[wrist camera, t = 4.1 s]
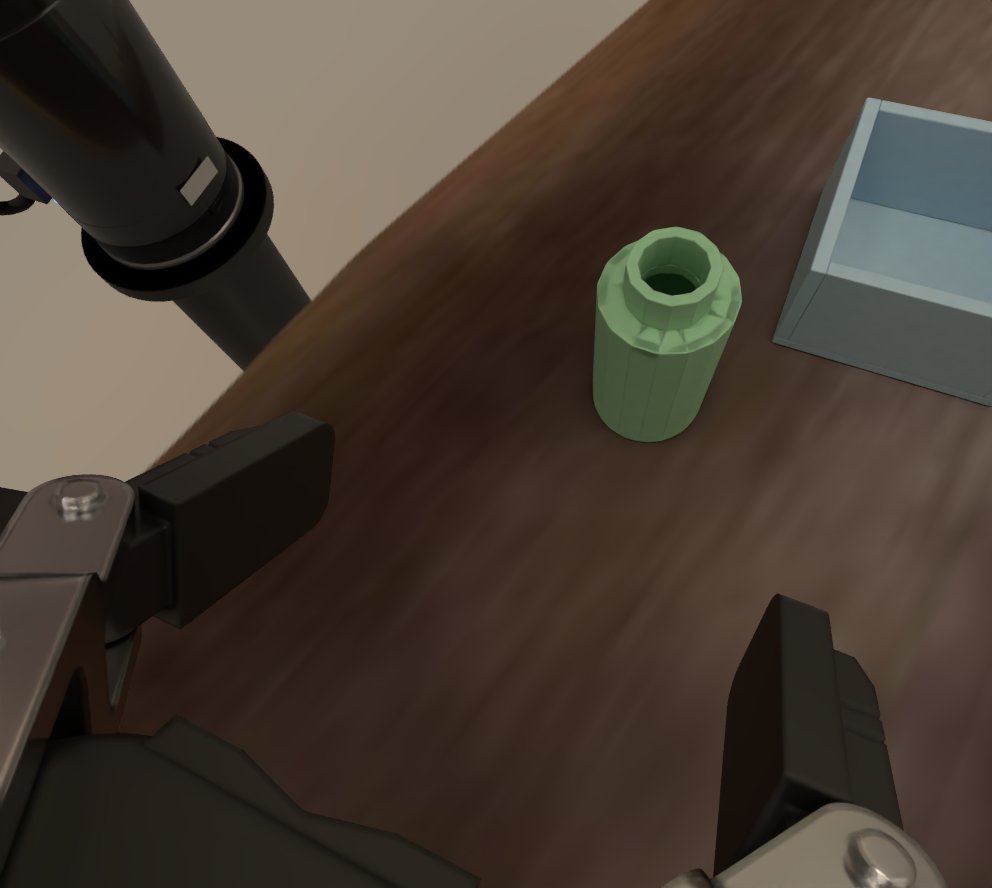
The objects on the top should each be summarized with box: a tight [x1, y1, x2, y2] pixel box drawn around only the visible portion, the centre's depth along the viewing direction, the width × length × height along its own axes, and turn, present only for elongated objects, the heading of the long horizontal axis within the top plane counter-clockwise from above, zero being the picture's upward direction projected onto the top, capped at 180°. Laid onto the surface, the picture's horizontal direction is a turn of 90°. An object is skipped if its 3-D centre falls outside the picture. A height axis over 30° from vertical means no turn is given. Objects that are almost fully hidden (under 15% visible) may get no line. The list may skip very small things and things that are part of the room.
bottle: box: [593, 227, 742, 442], centre depth 26 cm, size 5×5×10 cm
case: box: [772, 98, 992, 406], centre depth 28 cm, size 9×9×6 cm
